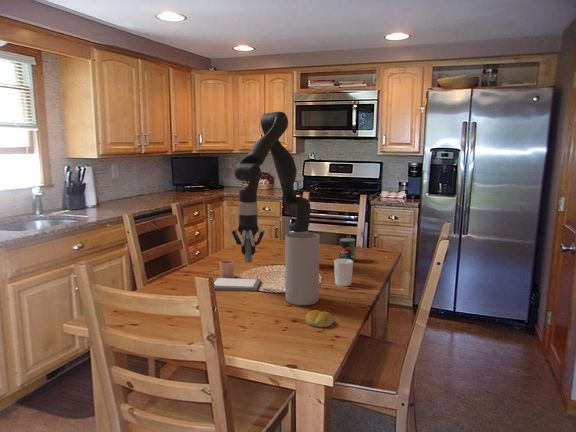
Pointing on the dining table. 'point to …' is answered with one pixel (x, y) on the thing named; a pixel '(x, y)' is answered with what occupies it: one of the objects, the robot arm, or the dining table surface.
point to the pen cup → (226, 269)
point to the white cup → (343, 271)
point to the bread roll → (319, 318)
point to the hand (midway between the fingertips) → (248, 254)
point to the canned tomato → (347, 249)
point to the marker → (248, 248)
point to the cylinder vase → (302, 268)
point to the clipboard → (236, 284)
